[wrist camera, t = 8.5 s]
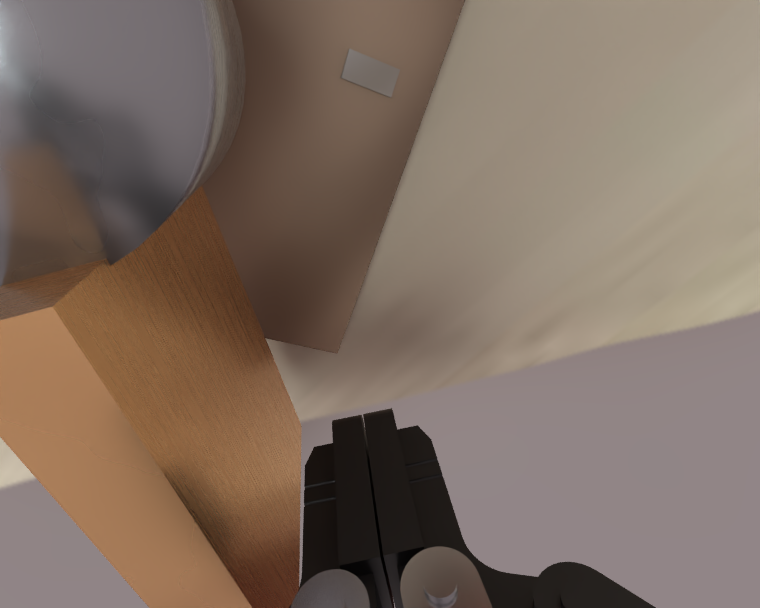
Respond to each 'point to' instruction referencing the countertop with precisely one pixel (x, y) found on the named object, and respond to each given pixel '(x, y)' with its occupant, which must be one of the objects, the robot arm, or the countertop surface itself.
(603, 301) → the countertop surface
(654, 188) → the countertop surface
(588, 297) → the countertop surface
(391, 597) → the robot arm
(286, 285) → the post block
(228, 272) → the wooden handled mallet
